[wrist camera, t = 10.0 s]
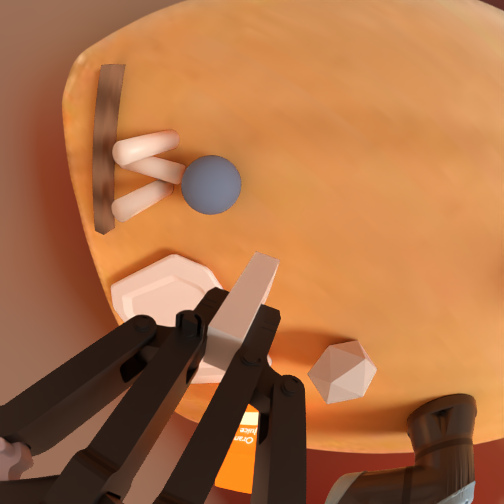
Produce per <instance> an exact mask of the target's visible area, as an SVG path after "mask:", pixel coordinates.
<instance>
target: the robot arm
mask: <svg viewBox="0 0 504 504" xmlns="http://www.w3.org/2000/svg"><path fill="white" fill-rule="evenodd" d="M279 262H280V260H279V259H276V258H273V257H270V256H267V255H265V254H262V253H259V252H255V254H254V255H253V257H252V258H251V260H250V261H249V263H248V265H247V266H246V268H245V269H244V271H243V272H242V274H241V276H240V277H239V279H238V280H237V282H236V283H235V285H234V287H233V288H232V290H231V291H230V292H228V291H226V290H223V289H221V288H218V287H214V288H212V289H210V290H208V291H207V293H206V294H205V295H204V297H203V298H202V299H201V301H200V303H199V304H198V305H197V306H196V308H195V309H194V310H183V311H180V312H178V313H177V314H176V321H175V326H174V327H168V326H162V325H157V324H156V321H155V320H154V319H153V318H152V317H150V316H149V315H144V314H141V315H136V316H134V317H132V318H131V319H129V320H128V321H126V322H125V323H123V324H122V325H120V326H119V327H117V328H116V329H115V330H113V331H111V332H110V333H108V334H107V335H105V336H104V337H102V338H101V339H99V340H98V341H96V342H95V343H93V344H92V345H90V346H89V347H88V348H86V349H84V350H83V351H82V352H80V353H79V354H77V355H76V356H74V357H73V358H71V359H70V360H68V361H67V362H66V363H64V364H62V365H61V366H60V367H58V368H57V369H55V370H54V371H52V372H51V373H49V374H48V375H47V376H45V377H44V378H42V379H41V380H39V381H38V382H36V383H35V384H34V385H32V386H31V387H29V388H28V389H26V390H25V391H23V392H22V393H21V394H19V395H18V396H16V397H15V398H13V399H12V400H11V401H9V402H8V403H6V404H5V405H2V406H0V504H124V503H122V501H123V499H124V498H125V496H126V494H127V493H128V491H129V489H130V487H131V483H132V480H133V478H134V477H135V475H136V473H137V472H138V470H139V468H140V467H141V465H142V464H143V462H144V460H145V458H146V457H147V455H148V454H149V452H150V450H151V449H152V447H153V445H154V444H155V442H156V440H157V439H158V437H159V435H160V434H161V432H162V430H163V429H164V427H165V425H166V424H167V422H168V420H169V419H170V417H171V415H172V414H173V412H174V410H175V409H176V407H177V405H178V404H179V402H180V400H181V398H182V397H183V395H184V393H185V392H186V390H187V388H188V387H189V385H190V383H191V382H192V380H193V378H194V376H195V375H196V373H197V371H198V369H199V364H200V362H201V360H202V359H203V362H205V363H207V364H209V365H212V366H214V367H216V368H219V369H221V370H223V371H226V372H225V374H224V376H223V378H222V380H221V382H220V384H219V386H218V388H217V390H216V392H215V394H214V396H213V398H212V400H211V401H210V403H209V405H208V407H207V409H206V411H205V413H204V415H203V417H202V419H201V421H200V422H199V424H198V426H197V428H196V430H195V432H194V434H193V436H192V438H191V439H190V441H189V443H188V445H187V447H186V449H185V451H184V452H183V454H182V456H181V458H180V459H179V461H178V463H177V465H176V467H175V469H174V470H173V472H172V474H171V476H170V478H169V479H168V481H167V483H166V485H165V486H164V488H163V490H162V492H161V493H160V494H159V496H158V497H157V498H156V499H155V501H154V502H153V504H204V502H205V500H206V498H207V495H208V494H209V492H210V490H211V487H212V485H213V483H214V481H215V479H216V477H217V475H218V473H219V471H220V468H221V466H222V464H223V462H224V460H225V457H226V455H227V453H228V451H229V449H230V446H231V444H232V442H233V439H234V437H235V435H236V433H237V430H238V428H239V426H240V423H241V421H242V419H243V416H244V414H245V411H246V409H247V407H248V404H250V405H251V406H252V407H254V408H255V409H256V410H258V411H259V413H258V425H257V438H256V449H255V461H254V472H253V482H252V493H251V504H306V408H305V388H304V384H303V383H302V382H301V380H300V379H298V378H297V377H295V376H292V375H283V376H281V375H280V374H278V373H277V372H275V371H274V370H273V369H272V368H271V367H270V365H269V363H268V360H267V356H268V352H269V349H270V347H271V344H272V341H273V339H274V336H275V333H276V330H277V328H278V325H279V322H280V319H281V317H280V311H279V310H277V309H274V308H271V307H269V306H266V305H264V303H265V301H266V299H267V297H268V295H269V292H270V289H271V286H272V283H273V280H274V277H275V274H276V271H277V268H278V265H279ZM132 384H133V385H132ZM131 385H132V386H131ZM130 386H131V388H130V389H129V390H128V392H127V393H126V394H125V396H124V397H123V398H122V400H121V401H120V403H119V404H118V405H117V407H116V408H115V409H114V411H113V412H112V414H111V415H110V416H109V418H108V419H107V421H106V422H105V423H104V425H103V426H102V427H101V429H100V430H99V432H98V433H97V434H96V436H95V437H94V439H93V440H92V441H91V443H90V444H89V446H88V447H87V448H85V449H83V450H80V451H78V452H77V453H76V454H75V455H74V456H73V457H72V458H71V460H70V461H69V463H68V464H67V466H66V467H65V468H64V470H63V471H62V473H61V474H60V475H54V476H46V477H39V478H31V479H21V480H20V476H21V474H22V473H23V472H24V471H26V470H27V469H29V468H31V467H32V466H33V464H34V463H33V459H32V456H35V455H39V454H41V453H43V452H45V451H47V450H49V449H50V448H52V447H53V446H55V445H56V444H57V443H59V442H60V441H61V440H63V439H64V438H65V437H66V436H68V435H69V434H70V433H72V432H73V431H74V430H75V429H77V428H78V427H79V426H81V425H82V424H83V423H84V422H86V421H87V420H88V419H90V418H91V417H92V416H94V415H95V414H96V413H97V412H99V411H100V410H101V409H102V408H104V407H105V406H106V405H107V404H109V403H110V402H111V401H113V400H114V399H115V398H116V397H117V396H119V395H120V394H121V393H122V392H123V391H125V390H126V389H127V388H129V387H130ZM476 414H477V407H476V401H475V399H474V398H473V397H472V396H470V395H465V394H458V395H451V396H446V397H443V398H439V399H436V400H434V401H431V402H429V403H427V404H425V405H423V406H422V407H420V408H418V409H417V410H416V411H414V412H413V413H412V414H411V415H410V416H409V418H408V420H407V434H408V436H409V437H410V439H411V443H412V446H413V450H414V453H415V465H413V466H408V467H401V468H395V469H388V470H379V471H369V472H368V471H363V472H358V473H349V474H345V475H343V476H342V477H340V478H339V479H338V481H336V482H335V484H334V485H333V487H332V489H331V490H330V492H329V495H328V497H327V500H326V502H325V504H471V502H472V500H473V495H474V485H475V477H474V454H473V441H472V436H473V430H474V424H475V417H476Z"/></svg>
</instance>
